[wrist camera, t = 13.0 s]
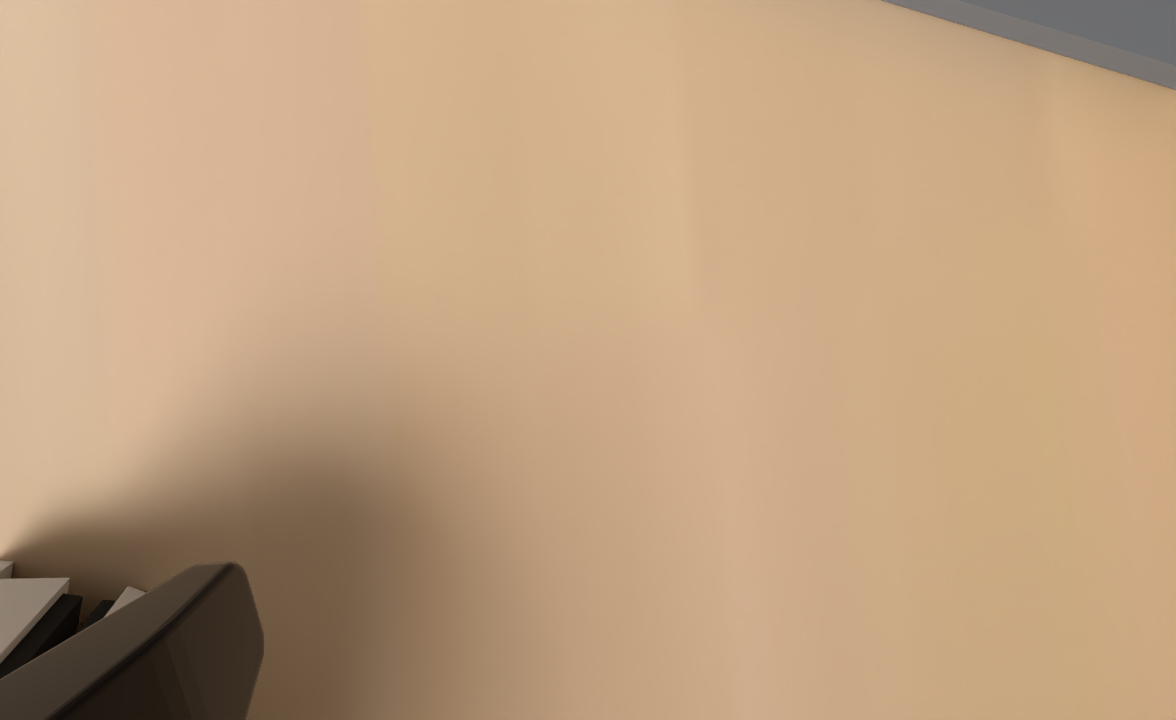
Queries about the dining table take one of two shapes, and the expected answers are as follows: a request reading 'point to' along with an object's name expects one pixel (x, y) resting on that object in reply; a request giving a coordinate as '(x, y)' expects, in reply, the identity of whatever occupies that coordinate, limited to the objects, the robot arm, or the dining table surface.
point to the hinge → (42, 616)
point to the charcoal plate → (1077, 29)
